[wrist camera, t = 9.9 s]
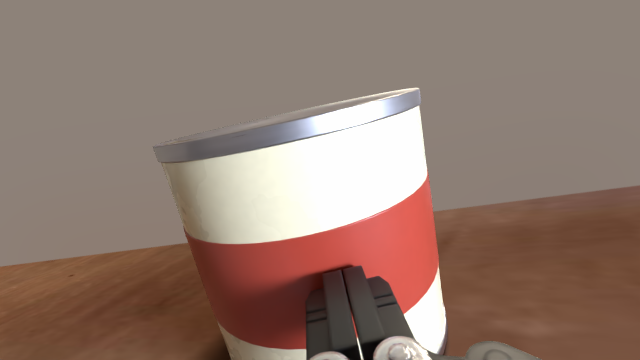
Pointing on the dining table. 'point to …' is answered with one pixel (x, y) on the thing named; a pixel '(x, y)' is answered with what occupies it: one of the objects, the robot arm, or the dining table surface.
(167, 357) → the dining table surface
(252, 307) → the coffee tin
